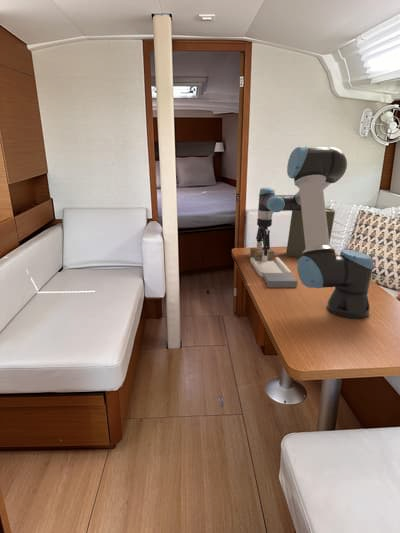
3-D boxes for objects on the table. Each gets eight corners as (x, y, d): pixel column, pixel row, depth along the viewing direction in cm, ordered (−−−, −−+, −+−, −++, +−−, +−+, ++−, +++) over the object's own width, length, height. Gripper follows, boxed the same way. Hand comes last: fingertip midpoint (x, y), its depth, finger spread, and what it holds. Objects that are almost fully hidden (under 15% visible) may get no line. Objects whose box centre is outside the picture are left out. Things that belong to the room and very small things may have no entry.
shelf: (291, 278, 173) (291, 272, 172) (259, 278, 172) (260, 272, 171) (277, 262, 194) (278, 257, 193) (250, 262, 193) (250, 257, 192)
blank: (272, 261, 196) (273, 251, 194) (255, 263, 193) (256, 252, 191) (266, 257, 203) (267, 246, 201) (249, 258, 200) (250, 247, 198)
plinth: (296, 287, 163) (297, 280, 162) (268, 287, 162) (268, 281, 161) (289, 278, 172) (290, 272, 171) (262, 279, 171) (263, 273, 170)
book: (324, 256, 208) (333, 207, 198) (327, 261, 199) (336, 210, 189) (286, 252, 211) (293, 204, 201) (286, 257, 202) (293, 207, 193)
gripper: (278, 223, 180) (274, 264, 187) (265, 213, 203) (262, 250, 210) (263, 223, 179) (260, 264, 186) (252, 213, 202) (249, 250, 210)
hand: (261, 257), depth 198 cm, fingers open, 13 cm apart
